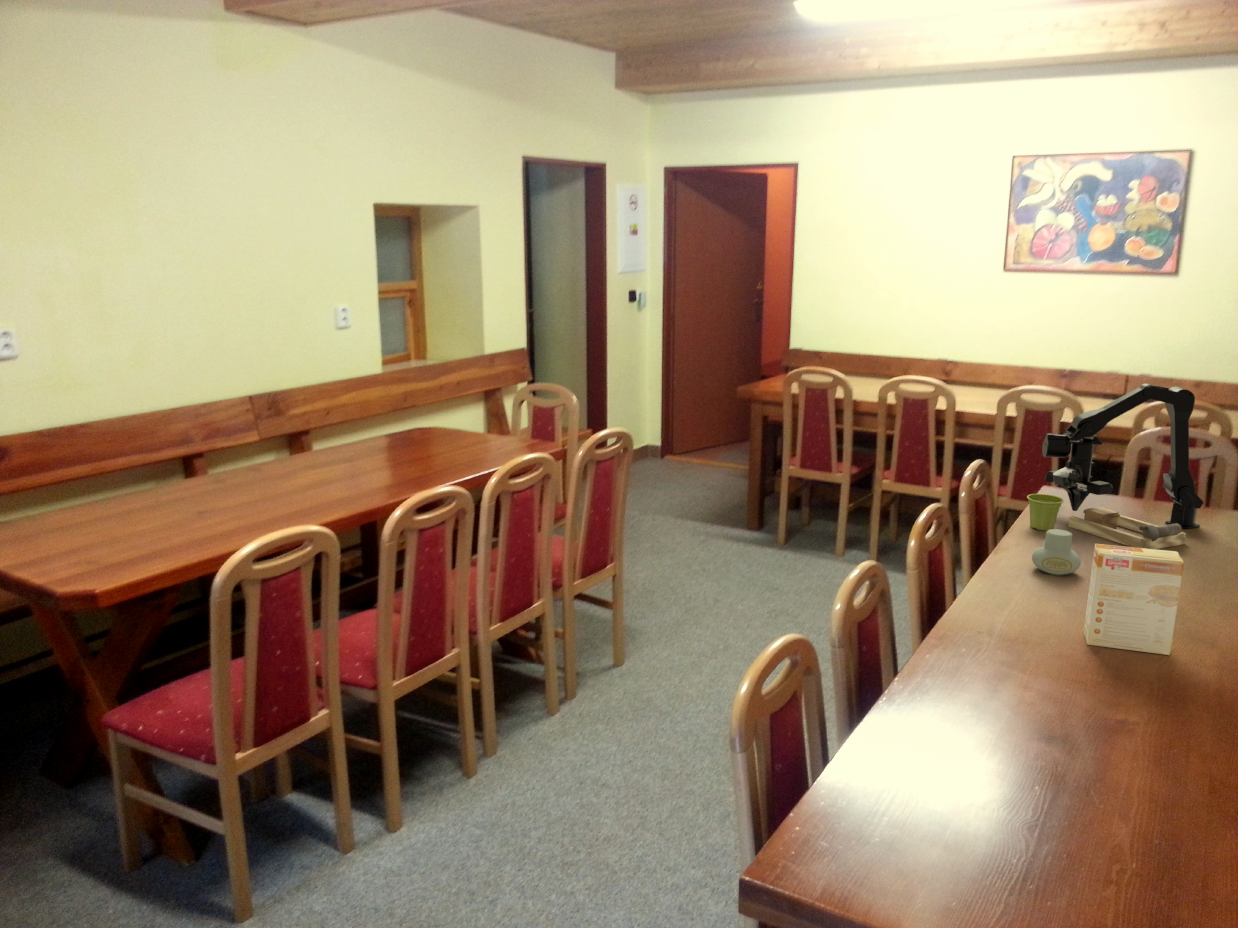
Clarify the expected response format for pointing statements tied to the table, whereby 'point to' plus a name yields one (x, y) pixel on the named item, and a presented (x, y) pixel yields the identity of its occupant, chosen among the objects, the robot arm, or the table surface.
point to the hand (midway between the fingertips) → (1074, 510)
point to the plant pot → (1043, 510)
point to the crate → (1102, 516)
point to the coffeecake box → (1133, 598)
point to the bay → (1151, 533)
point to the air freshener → (1056, 554)
